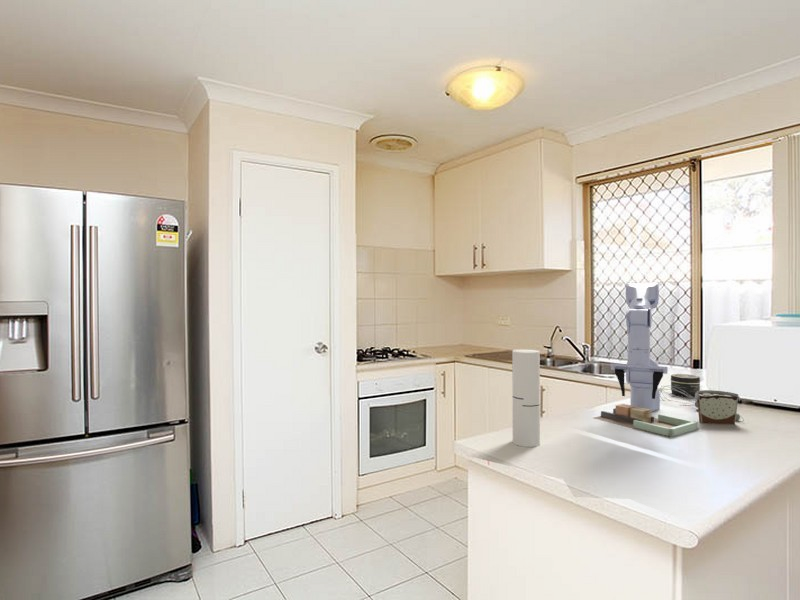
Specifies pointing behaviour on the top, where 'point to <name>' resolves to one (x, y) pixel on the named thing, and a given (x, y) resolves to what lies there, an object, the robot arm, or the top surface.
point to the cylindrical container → (526, 397)
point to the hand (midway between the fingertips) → (638, 397)
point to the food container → (717, 406)
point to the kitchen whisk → (689, 401)
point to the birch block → (641, 414)
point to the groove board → (631, 421)
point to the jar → (685, 384)
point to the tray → (682, 428)
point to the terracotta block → (624, 410)
